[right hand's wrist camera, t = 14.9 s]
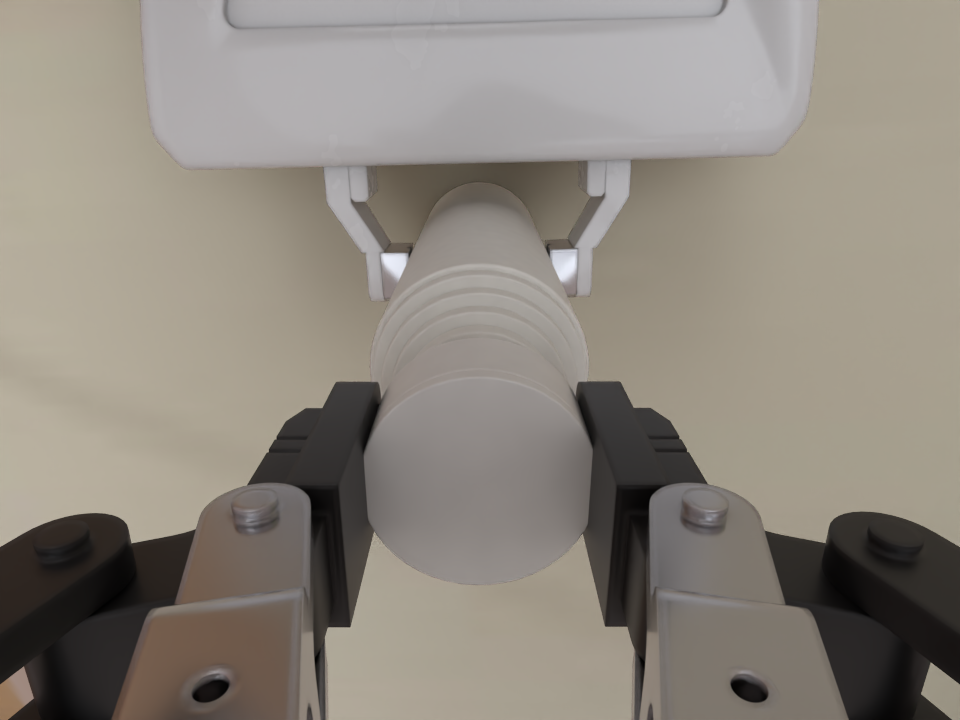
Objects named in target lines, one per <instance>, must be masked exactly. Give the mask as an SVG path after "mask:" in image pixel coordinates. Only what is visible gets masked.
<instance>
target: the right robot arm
mask: <svg viewBox="0 0 960 720" xmlns="http://www.w3.org/2000/svg"><path fill="white" fill-rule="evenodd" d="M576 398H577V401H578V404H579V407H580V410H581V413H582V416H583V419H584V422H585V425H586V428H587V431H588V434H589V437H590V440H591V443H592V446H593V455H592V470H591V485H590V500H589V514H588V525H587V527H586V529H585V531H584V532H583V536H584V540H585V544H586V548H587V552H588V557H589V561H590V565H591V569H592V573H593V578H594V582H595V586H596V590H597V594H598V599H599V603H600V607H601V611H602V615H603V619H604V624H605V627H628V630H629V634H630V637H631V641H632V644H633V646H634V656H633V666H632V720H952V719H950V718H949V717H948V716H947V715H945V714H944V713H943V712H942V711H941V710H939V709H938V708H937V707H936V706H935V705H933V704H932V703H931V702H930V701H928V700H927V699H926V698H925V697H924V696H922V695H921V692H922V688H923V685H924V682H925V679H926V675H927V672H928V669H929V666H930V662H931V663H933V664H934V665H935V666H937V667H938V668H939V669H941V670H942V671H943V672H945V673H946V674H947V675H948V676H950V677H951V678H952V679H954V680H955V681H956V682H958V683H959V684H960V547H958V546H957V545H955V544H953V543H952V542H950V541H948V540H947V539H945V538H943V537H941V536H940V535H938V534H936V533H935V532H933V531H931V530H929V529H927V528H925V527H923V526H921V525H919V524H916V523H914V522H911V521H908V520H906V519H903V518H899V517H896V516H892V515H887V514H882V513H875V512H851V513H846V514H843V515H840V516H838V517H836V518H835V519H834V520H833V521H832V522H831V523H830V526H829V530H828V535H827V540H826V543H821V542H816V541H810V540H805V539H800V538H795V537H789V536H784V535H780V534H775V533H771V532H768V531H764V528H763V524H762V521H761V517H760V515H759V513H758V511H757V510H756V509H755V507H754V506H753V505H752V504H751V503H750V502H748V501H747V500H746V499H744V498H743V497H741V496H739V495H737V494H735V493H733V492H731V491H729V490H726V489H723V488H720V487H717V486H712V485H708V484H707V482H706V480H705V479H704V477H703V475H702V474H701V472H700V470H699V469H698V467H697V465H696V464H695V462H694V460H693V458H692V457H691V455H690V453H689V452H687V448H686V447H685V445H684V443H683V442H682V440H681V439H679V435H678V433H677V432H676V430H675V428H674V427H673V425H672V423H671V422H670V421H669V420H668V419H666V418H665V417H663V416H662V415H660V414H659V413H657V412H656V411H654V410H653V409H651V408H633V406H632V404H631V402H630V400H629V398H628V396H627V394H626V392H625V390H624V388H623V386H622V384H621V382H578V384H577V388H576ZM380 402H381V392H380V386H379V383H378V382H336V383H335V385H334V387H333V389H332V391H331V393H330V395H329V397H328V399H327V401H326V402H325V404H324V406H323V408H306V409H304V410H303V411H301V412H300V413H298V414H297V415H295V416H294V417H292V418H290V419H289V420H287V421H286V422H285V424H284V426H283V427H282V429H281V430H280V432H279V434H278V435H277V440H274V442H273V444H272V445H271V447H270V449H269V453H266V455H265V457H264V458H263V460H262V462H261V463H260V465H259V467H258V468H257V470H256V472H255V473H254V475H253V476H252V478H251V480H250V481H249V483H248V485H247V486H243V487H240V488H237V489H234V490H231V491H229V492H227V493H225V494H223V495H221V496H219V497H217V498H216V499H214V500H213V501H212V502H210V503H209V504H208V505H207V506H206V507H205V508H204V510H203V511H202V513H201V515H200V517H199V521H198V524H197V528H196V529H195V530H192V531H189V532H186V533H182V534H178V535H174V536H169V537H163V538H158V539H153V540H148V541H142V542H137V543H132V544H131V539H130V535H129V530H128V527H127V524H126V523H125V522H124V521H123V520H122V519H120V518H118V517H116V516H113V515H108V514H100V513H89V514H79V515H73V516H68V517H64V518H60V519H57V520H53V521H51V522H48V523H45V524H42V525H40V526H38V527H35V528H33V529H31V530H29V531H28V532H26V533H24V534H22V535H20V536H19V537H17V538H15V539H13V540H12V541H10V542H8V543H7V544H5V545H3V546H1V547H0V684H1V683H2V682H4V681H5V680H6V679H8V678H9V677H10V676H11V675H13V674H14V673H15V672H17V671H18V670H19V669H21V668H22V667H23V666H24V668H25V671H26V674H27V677H28V681H29V684H30V687H31V690H32V693H33V697H34V699H33V700H32V701H30V702H29V703H28V704H27V705H25V706H24V707H23V708H22V709H21V710H19V711H18V712H17V713H16V714H15V715H13V716H12V717H11V718H10V719H8V720H328V666H327V656H326V647H325V635H326V631H327V628H328V627H350V626H351V622H352V618H353V614H354V610H355V606H356V602H357V598H358V594H359V590H360V586H361V582H362V578H363V574H364V570H365V566H366V561H367V557H368V553H369V549H370V545H371V541H372V537H373V533H374V530H373V528H372V526H371V525H370V523H369V520H368V512H367V498H366V484H365V469H364V450H365V447H366V444H367V441H368V438H369V435H370V432H371V429H372V426H373V423H374V420H375V417H376V414H377V411H378V408H379V405H380Z"/></svg>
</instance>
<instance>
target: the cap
mask: <svg viewBox="0 0 960 720" xmlns="http://www.w3.org/2000/svg"><path fill="white" fill-rule="evenodd" d="M592 455H593V446H592V443H591V440H590V437H589V434H588V431H587V428H586V425H585V422H584V419H583V416H582V413H581V410H580V407H579V404H578V401H577V398H576V396H575V394H574V392H573V390H572V388H571V387H570V385H569V383H568V382H567V380H566V379H565V378H564V377H563V375H562V374H561V373H560V372H559V371H558V370H557V369H556V368H555V367H554V366H553V365H552V364H551V363H550V362H549V361H547V360H546V359H544V358H543V357H541V356H540V355H538V354H537V353H535V352H533V351H531V350H529V349H527V348H525V347H523V346H520V345H517V344H514V343H512V342H507V341H503V340H498V339H489V338H467V339H461V340H455V341H451V342H448V343H444V344H441V345H438V346H436V347H434V348H431V349H429V350H427V351H425V352H424V353H422V354H420V355H419V356H417V357H415V358H414V359H413V360H412V361H410V362H409V363H408V364H406V365H405V366H404V367H403V368H402V369H401V370H400V371H399V372H398V373H397V375H396V376H395V377H394V378H393V380H392V381H391V383H390V384H389V385H388V387H387V389H386V391H385V393H384V395H383V397H382V399H381V402H380V405H379V408H378V411H377V414H376V417H375V420H374V423H373V426H372V429H371V432H370V435H369V438H368V441H367V444H366V447H365V450H364V469H365V484H366V498H367V512H368V520H369V523H370V525H371V526H372V528H373V530H374V531H375V533H376V534H377V536H378V537H379V538H380V540H381V541H382V542H383V543H384V545H385V546H386V547H387V548H388V549H389V550H390V551H391V552H392V553H393V554H394V555H395V556H397V557H398V558H399V559H401V560H402V561H403V562H405V563H406V564H408V565H409V566H411V567H413V568H415V569H416V570H418V571H420V572H422V573H424V574H427V575H429V576H431V577H434V578H437V579H441V580H444V581H448V582H453V583H458V584H467V585H492V584H500V583H506V582H510V581H514V580H518V579H521V578H524V577H527V576H529V575H532V574H534V573H536V572H538V571H540V570H542V569H544V568H546V567H547V566H549V565H550V564H552V563H554V562H555V561H557V560H558V559H559V558H560V557H561V556H563V555H564V554H565V553H566V552H567V551H568V550H569V549H570V548H571V547H572V546H573V545H574V544H575V543H576V542H577V541H578V539H579V538H580V536H581V535H582V533H583V532H584V531H585V529H586V527H587V525H588V514H589V500H590V485H591V470H592Z"/></svg>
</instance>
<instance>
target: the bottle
mask: <svg viewBox="0 0 960 720" xmlns="http://www.w3.org/2000/svg"><path fill="white" fill-rule="evenodd" d="M467 338H489V339H498V340H503V341H507V342H512V343H514V344H517V345H520V346H523V347H525V348H527V349H529V350H531V351H533V352H535V353H537V354H538V355H540V356H541V357H543V358H544V359H546V360H547V361H549V362H550V363H551V364H552V365H553V366H554V367H555V368H556V369H557V370H558V371H559V372H560V373H561V374H562V375H563V377H564V378H565V379H566V380H567V382H568V383H569V385H570V387H571V388H572V390H573V392H574V394H575V396H576V388H577V384H578V382H587V381H588V375H589V356H588V347H587V343H586V340H585V336H584V333H583V330H582V328H581V326H580V323H579V321H578V319H577V316H576V314H575V312H574V310H573V308H572V305H571V303H570V301H569V299H568V297H567V295H566V292H565V290H564V288H563V286H562V284H561V281H560V279H559V277H558V275H557V273H556V270H555V268H554V266H553V264H552V262H551V260H550V257H549V255H548V253H547V251H546V249H545V246H544V244H543V242H542V240H541V238H540V235H539V233H538V231H537V229H536V227H535V224H534V222H533V220H532V218H531V216H530V214H529V212H528V210H527V208H526V207H525V205H524V204H523V203H522V201H521V200H520V199H519V198H518V197H517V196H516V195H514V194H513V193H512V192H510V191H509V190H507V189H505V188H503V187H501V186H498V185H496V184H491V183H485V182H473V183H467V184H464V185H461V186H458V187H456V188H454V189H452V190H450V191H449V192H447V193H446V194H445V195H444V196H442V197H441V198H440V199H439V201H438V202H437V203H436V204H435V206H434V207H433V208H432V210H431V212H430V214H429V216H428V218H427V220H426V223H425V225H424V227H423V229H422V231H421V233H420V236H419V238H418V240H417V242H416V244H415V247H414V249H413V251H412V253H411V255H410V257H409V260H408V262H407V264H406V266H405V268H404V270H403V273H402V275H401V277H400V279H399V281H398V283H397V286H396V288H395V290H394V292H393V294H392V296H391V299H390V301H389V303H388V305H387V307H386V310H385V312H384V314H383V316H382V318H381V320H380V323H379V325H378V327H377V330H376V333H375V336H374V339H373V342H372V348H371V353H370V375H371V382H378V383H379V386H380V392H381V399H382V397H383V395H384V393H385V391H386V389H387V387H388V385H389V384H390V383H391V381H392V380H393V378H394V377H395V376H396V375H397V373H398V372H399V371H400V370H401V369H402V368H403V367H404V366H405V365H406V364H408V363H409V362H410V361H412V360H413V359H414V358H415V357H417V356H419V355H420V354H422V353H424V352H425V351H427V350H429V349H431V348H434V347H436V346H438V345H441V344H444V343H448V342H451V341H455V340H461V339H467Z"/></svg>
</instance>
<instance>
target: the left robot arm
mask: <svg viewBox="0 0 960 720" xmlns="http://www.w3.org/2000/svg"><path fill="white" fill-rule="evenodd" d="M818 11H819V0H140V21H141V42H142V58H143V70H144V80H145V89H146V97H147V105H148V113H149V119H150V125H151V129H152V133H153V135H154V137H155V139H156V141H157V142H158V143H159V144H160V146H161V147H162V148H163V149H164V150H165V151H166V152H167V153H168V154H169V155H170V156H171V157H172V158H173V160H174V161H175V162H177V163H178V164H179V165H180V166H181V167H182V168H184V169H187V170H214V169H256V168H298V167H323V170H324V179H325V189H326V199H327V204H328V206H329V207H330V208H331V210H332V211H333V213H334V214H335V216H336V217H337V218H338V220H339V221H340V223H341V224H342V226H343V227H344V228H345V230H346V231H347V233H348V234H349V236H350V237H351V239H352V240H353V241H354V243H355V244H356V246H357V247H358V249H359V250H360V251H361V253H365V255H366V266H367V278H368V289H369V297H370V300H371V301H390V299H391V296H392V294H393V292H394V290H395V288H396V286H397V283H398V281H399V279H400V277H401V275H402V273H403V270H404V268H405V266H406V264H407V262H408V260H409V257H410V255H411V253H412V251H413V243H390V240H389V238H388V237H387V235H386V234H385V232H384V230H383V229H382V227H381V226H380V224H379V222H378V221H377V219H376V218H375V216H374V215H373V213H372V211H371V210H370V208H369V207H368V205H367V203H366V201H367V200H368V199H369V198H370V197H372V196H373V195H374V194H375V193H376V192H377V191H378V188H377V172H376V166H383V165H425V164H467V163H509V162H551V161H579V175H578V186H579V187H580V188H581V189H582V190H583V191H584V192H586V193H587V194H588V195H589V196H591V197H590V199H589V201H588V203H587V204H586V206H585V208H584V210H583V211H582V213H581V215H580V217H579V218H578V220H577V222H576V223H575V225H574V227H573V229H572V230H571V232H570V234H569V236H568V237H567V238H568V239H556V240H545V249H546V251H547V253H548V255H549V257H550V260H551V262H552V264H553V266H554V268H555V270H556V273H557V275H558V277H559V279H560V281H561V284H562V286H563V288H564V290H565V292H566V295H567V297H589V296H590V293H591V286H592V260H593V248H597V246H598V245H599V243H600V242H601V240H602V239H603V237H604V235H605V234H606V232H607V231H608V229H609V228H610V226H611V224H612V223H613V221H614V220H615V218H616V216H617V215H618V213H619V212H620V210H621V209H622V207H623V205H624V204H625V202H626V201H627V199H628V198H629V189H630V172H631V160H636V159H678V158H720V157H760V156H772V155H775V154H776V153H778V152H779V151H780V150H781V149H782V148H783V147H784V146H785V145H786V143H787V142H788V141H789V140H790V139H791V137H792V136H793V135H794V134H795V133H796V131H797V130H798V129H799V128H800V126H801V125H802V124H803V122H804V120H805V118H806V114H807V111H808V107H809V102H810V96H811V89H812V81H813V74H814V64H815V55H816V43H817V30H818Z"/></svg>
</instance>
